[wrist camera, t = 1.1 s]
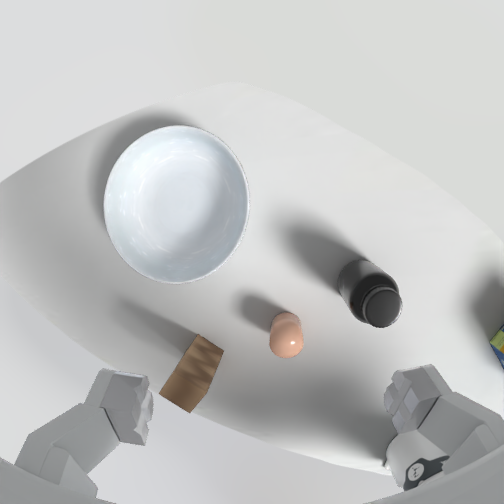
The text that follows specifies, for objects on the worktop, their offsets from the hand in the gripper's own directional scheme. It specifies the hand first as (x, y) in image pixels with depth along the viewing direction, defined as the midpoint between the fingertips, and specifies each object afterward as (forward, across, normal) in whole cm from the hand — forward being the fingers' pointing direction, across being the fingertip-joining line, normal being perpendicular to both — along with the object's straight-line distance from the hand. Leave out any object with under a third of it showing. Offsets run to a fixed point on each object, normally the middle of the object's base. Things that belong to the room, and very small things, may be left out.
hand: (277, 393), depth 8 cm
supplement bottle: (+31, +17, -11) cm, 37 cm away
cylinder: (+31, +7, -19) cm, 37 cm away
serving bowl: (+37, -9, -2) cm, 38 cm away
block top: (+24, -7, -24) cm, 34 cm away
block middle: (+28, -7, -25) cm, 38 cm away
